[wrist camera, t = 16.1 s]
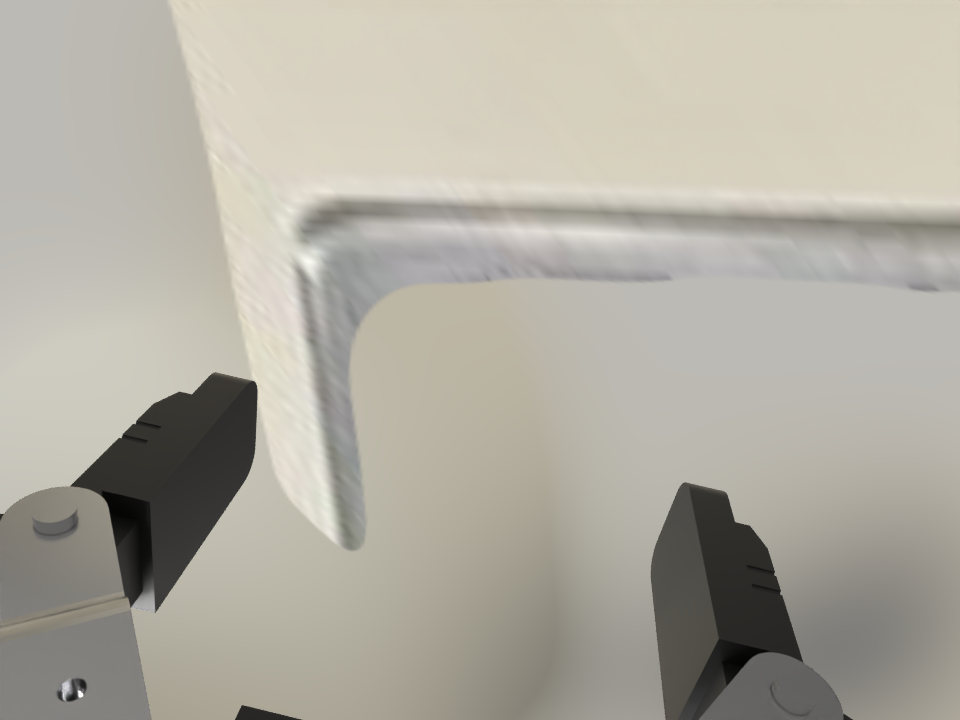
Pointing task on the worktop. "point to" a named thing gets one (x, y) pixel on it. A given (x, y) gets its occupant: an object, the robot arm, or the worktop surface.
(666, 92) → the worktop surface
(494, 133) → the worktop surface
